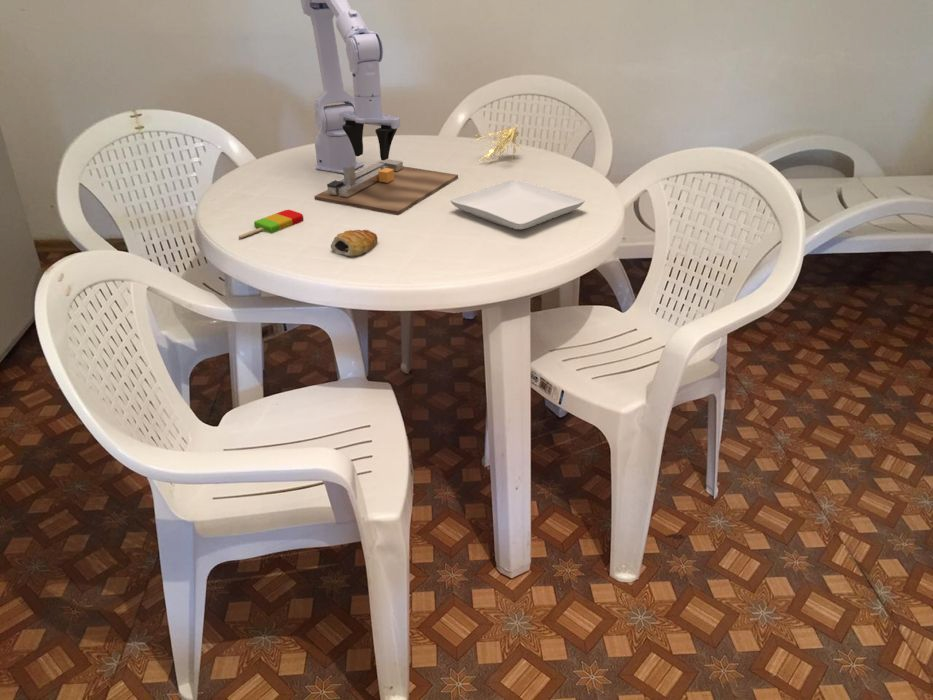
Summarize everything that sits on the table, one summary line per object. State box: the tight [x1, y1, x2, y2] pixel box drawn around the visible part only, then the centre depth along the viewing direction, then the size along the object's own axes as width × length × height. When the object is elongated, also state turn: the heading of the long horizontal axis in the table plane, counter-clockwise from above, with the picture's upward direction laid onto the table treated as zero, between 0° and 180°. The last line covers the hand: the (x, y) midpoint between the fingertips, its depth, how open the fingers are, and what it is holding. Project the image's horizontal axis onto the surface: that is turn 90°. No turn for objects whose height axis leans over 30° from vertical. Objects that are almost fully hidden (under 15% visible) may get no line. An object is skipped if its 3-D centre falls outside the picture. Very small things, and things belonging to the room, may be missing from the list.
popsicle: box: [238, 209, 304, 239], centre depth 148 cm, size 6×15×2 cm, turn 143°
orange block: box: [378, 168, 394, 183], centre depth 170 cm, size 3×2×2 cm
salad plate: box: [450, 178, 586, 231], centre depth 155 cm, size 21×21×3 cm
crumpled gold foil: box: [471, 125, 523, 163], centre depth 186 cm, size 11×15×9 cm
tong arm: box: [339, 165, 390, 197], centre depth 167 cm, size 18×2×6 cm, turn 153°
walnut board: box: [313, 165, 459, 216], centre depth 169 cm, size 28×22×1 cm
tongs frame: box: [326, 158, 404, 195], centre depth 171 cm, size 24×5×2 cm, turn 153°
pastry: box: [330, 229, 378, 257], centre depth 139 cm, size 9×7×4 cm
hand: (371, 157), depth 162 cm, fingers open, 6 cm apart
